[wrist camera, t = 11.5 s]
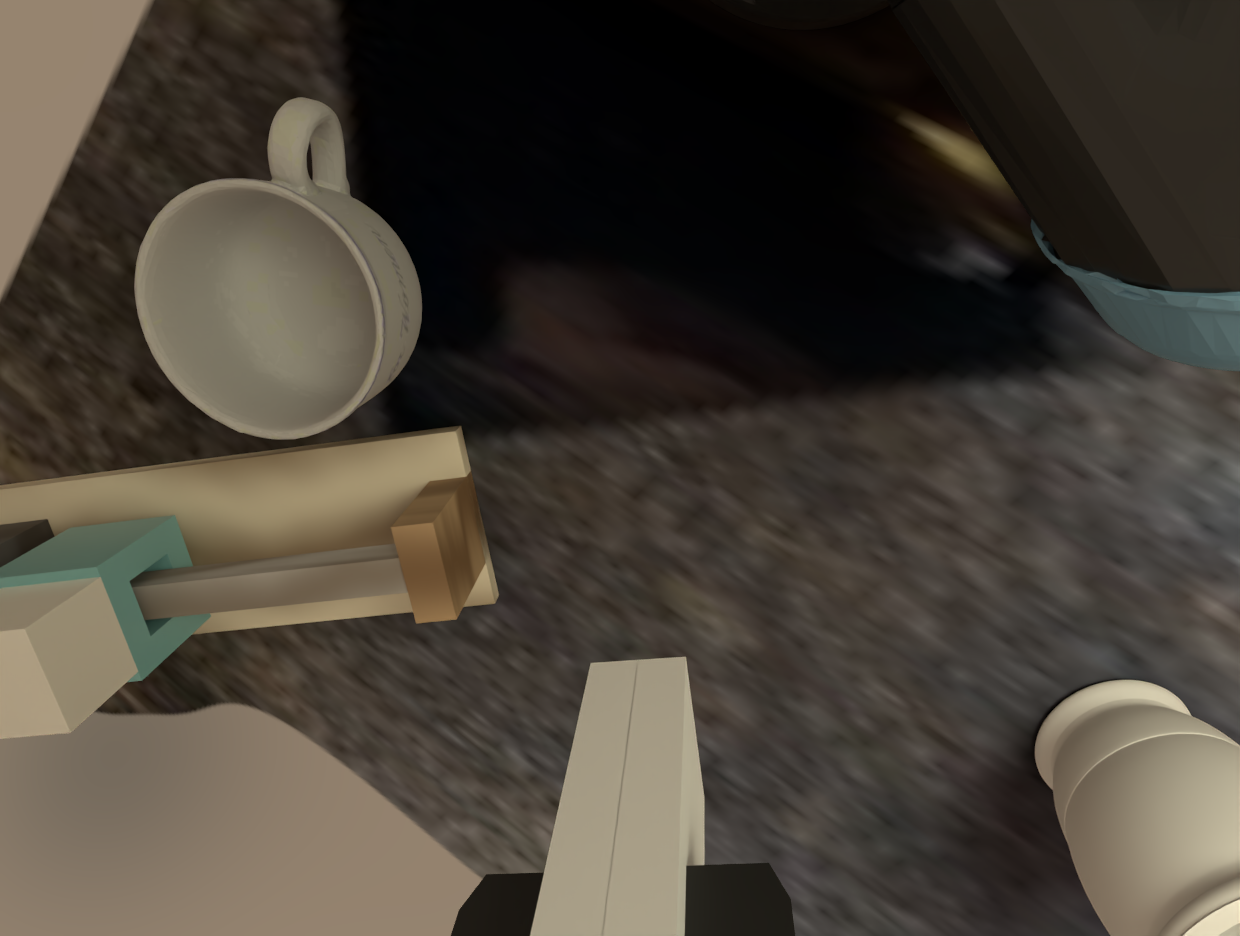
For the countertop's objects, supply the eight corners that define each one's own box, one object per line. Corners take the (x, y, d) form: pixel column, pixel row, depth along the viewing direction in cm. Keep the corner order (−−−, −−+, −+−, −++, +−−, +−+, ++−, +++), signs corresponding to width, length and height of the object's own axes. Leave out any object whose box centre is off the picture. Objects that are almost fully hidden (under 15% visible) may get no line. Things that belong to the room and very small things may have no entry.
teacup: (391, 430, 43) (330, 484, 36) (200, 333, 42) (95, 367, 35) (501, 183, 38) (456, 185, 31) (289, 67, 37) (190, 40, 30)
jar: (1105, 843, 48) (1277, 1115, 34) (973, 753, 47) (1097, 999, 33) (1251, 726, 45) (1509, 975, 31) (1114, 625, 44) (1319, 838, 30)
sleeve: (70, 527, 43) (-113, 632, 33) (175, 515, 42) (19, 617, 32) (110, 627, 45) (-52, 753, 35) (211, 616, 44) (75, 742, 34)
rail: (-17, 487, 46) (-154, 547, 38) (460, 425, 43) (413, 478, 35) (49, 641, 49) (-65, 724, 42) (498, 594, 46) (462, 676, 38)
